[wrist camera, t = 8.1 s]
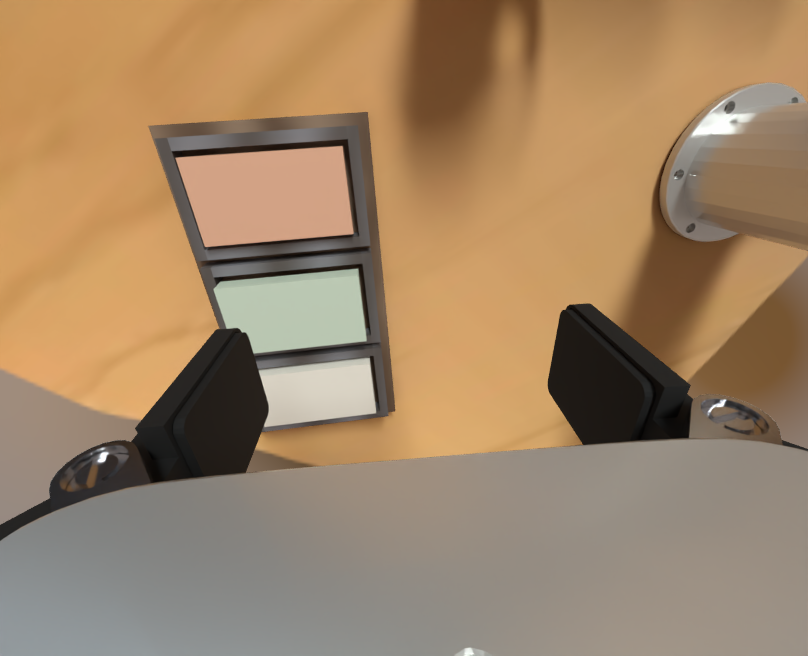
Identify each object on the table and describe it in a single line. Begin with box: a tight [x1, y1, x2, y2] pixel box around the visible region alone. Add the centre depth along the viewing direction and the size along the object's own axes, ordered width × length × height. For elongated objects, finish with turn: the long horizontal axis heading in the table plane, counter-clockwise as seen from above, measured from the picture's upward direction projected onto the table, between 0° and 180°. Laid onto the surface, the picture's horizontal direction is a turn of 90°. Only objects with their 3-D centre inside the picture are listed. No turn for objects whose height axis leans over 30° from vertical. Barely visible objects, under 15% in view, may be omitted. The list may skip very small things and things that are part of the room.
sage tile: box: [213, 269, 367, 353], centre depth 30 cm, size 11×6×2 cm, turn 94°
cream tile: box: [258, 356, 376, 427], centre depth 35 cm, size 11×6×2 cm, turn 94°
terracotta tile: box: [176, 146, 354, 247], centre depth 26 cm, size 11×6×2 cm, turn 94°
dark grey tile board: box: [149, 112, 395, 432], centre depth 32 cm, size 15×28×3 cm, turn 4°
